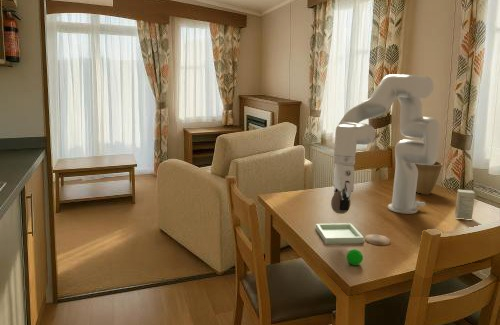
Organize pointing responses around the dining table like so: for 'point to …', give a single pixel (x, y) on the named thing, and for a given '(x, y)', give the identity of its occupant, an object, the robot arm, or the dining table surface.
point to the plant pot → (427, 177)
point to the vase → (338, 203)
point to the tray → (339, 233)
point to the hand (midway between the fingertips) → (340, 206)
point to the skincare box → (464, 204)
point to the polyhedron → (354, 257)
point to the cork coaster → (377, 239)
